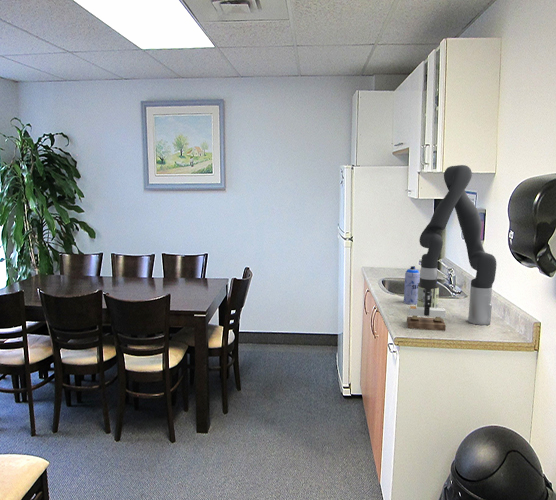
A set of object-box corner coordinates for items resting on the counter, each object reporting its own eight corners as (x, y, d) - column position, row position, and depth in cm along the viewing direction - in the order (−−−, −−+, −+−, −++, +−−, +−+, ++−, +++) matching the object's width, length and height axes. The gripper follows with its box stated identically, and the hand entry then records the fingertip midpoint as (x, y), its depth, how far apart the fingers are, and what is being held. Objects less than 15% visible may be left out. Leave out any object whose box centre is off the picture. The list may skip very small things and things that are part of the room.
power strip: (444, 318, 220) (444, 307, 219) (445, 321, 216) (446, 309, 215) (407, 316, 223) (408, 305, 222) (408, 319, 219) (408, 307, 218)
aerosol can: (409, 305, 255) (411, 268, 252) (400, 301, 262) (402, 265, 259) (421, 303, 258) (423, 267, 255) (411, 300, 266) (413, 264, 262)
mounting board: (442, 324, 223) (442, 318, 223) (445, 330, 214) (445, 325, 213) (406, 321, 226) (407, 316, 226) (408, 328, 217) (408, 322, 216)
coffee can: (416, 307, 251) (417, 281, 249) (437, 309, 248) (438, 282, 246) (416, 312, 241) (418, 285, 239) (438, 314, 238) (439, 286, 236)
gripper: (439, 281, 209) (436, 319, 212) (435, 274, 223) (433, 310, 225) (421, 279, 210) (418, 317, 213) (418, 273, 224) (416, 309, 227)
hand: (426, 313), depth 219 cm, fingers closed on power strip, 4 cm apart
